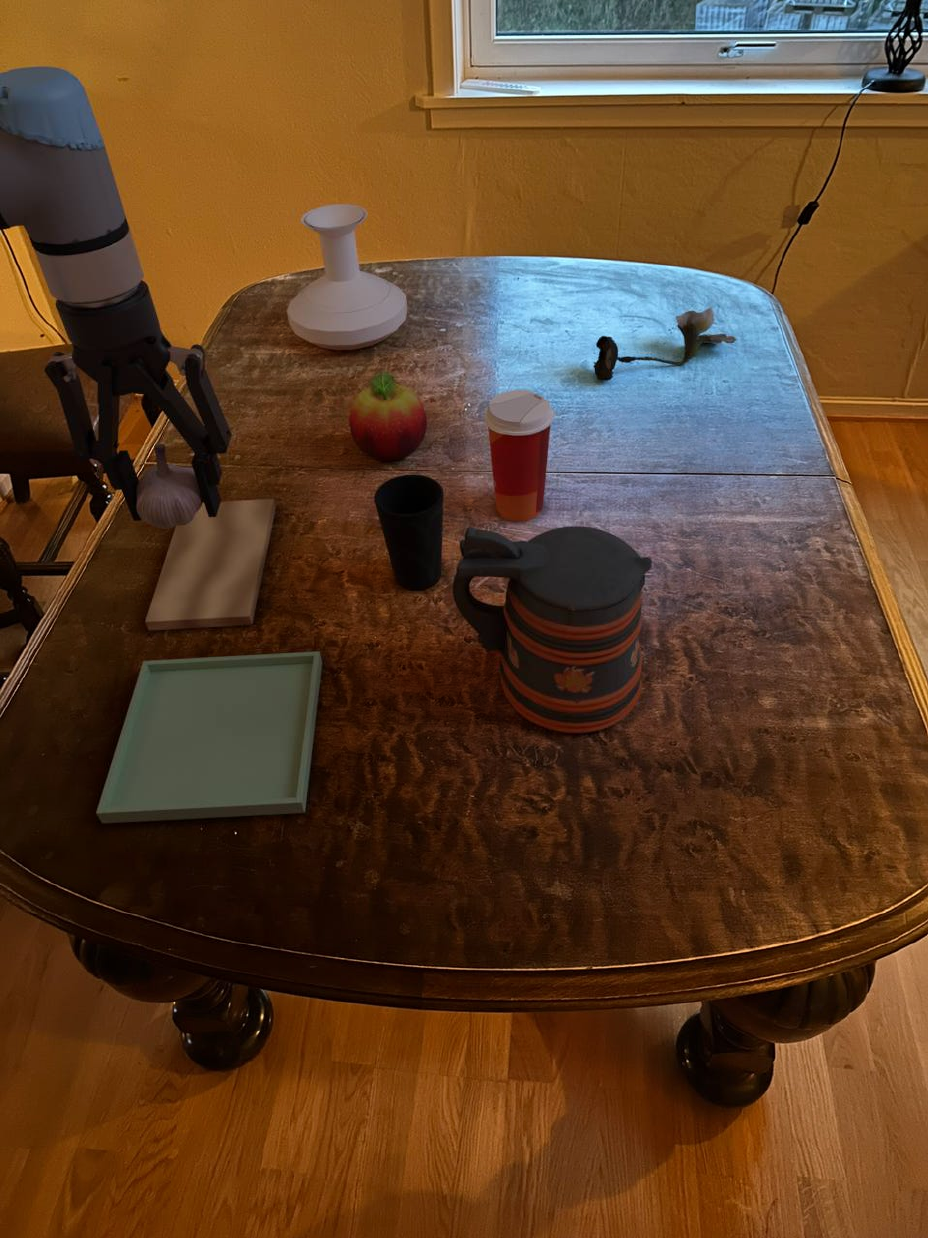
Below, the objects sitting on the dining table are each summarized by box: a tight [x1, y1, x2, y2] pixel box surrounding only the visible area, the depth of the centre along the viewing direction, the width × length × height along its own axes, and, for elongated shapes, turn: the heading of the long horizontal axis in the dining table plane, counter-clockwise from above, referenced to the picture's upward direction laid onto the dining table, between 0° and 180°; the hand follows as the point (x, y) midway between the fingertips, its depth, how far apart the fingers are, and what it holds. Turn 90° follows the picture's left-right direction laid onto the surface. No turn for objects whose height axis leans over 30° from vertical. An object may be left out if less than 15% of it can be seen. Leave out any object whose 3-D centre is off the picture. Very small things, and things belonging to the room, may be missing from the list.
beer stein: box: [452, 525, 653, 734], centre depth 86 cm, size 19×15×20 cm
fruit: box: [348, 370, 428, 462], centre depth 122 cm, size 11×11×10 cm
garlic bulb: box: [136, 443, 204, 530], centre depth 86 cm, size 8×7×8 cm
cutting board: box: [144, 498, 277, 632], centre depth 109 cm, size 12×22×2 cm, turn 2°
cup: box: [373, 473, 445, 592], centre depth 102 cm, size 8×8×12 cm
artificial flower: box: [592, 306, 738, 382], centre depth 136 cm, size 9×22×10 cm, turn 106°
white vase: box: [286, 203, 408, 351], centre depth 144 cm, size 20×20×19 cm
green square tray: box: [95, 651, 323, 824], centre depth 89 cm, size 19×19×2 cm
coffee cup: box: [484, 389, 555, 522], centre depth 109 cm, size 8×8×15 cm
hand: (177, 510), depth 89 cm, fingers closed on garlic bulb, 7 cm apart
